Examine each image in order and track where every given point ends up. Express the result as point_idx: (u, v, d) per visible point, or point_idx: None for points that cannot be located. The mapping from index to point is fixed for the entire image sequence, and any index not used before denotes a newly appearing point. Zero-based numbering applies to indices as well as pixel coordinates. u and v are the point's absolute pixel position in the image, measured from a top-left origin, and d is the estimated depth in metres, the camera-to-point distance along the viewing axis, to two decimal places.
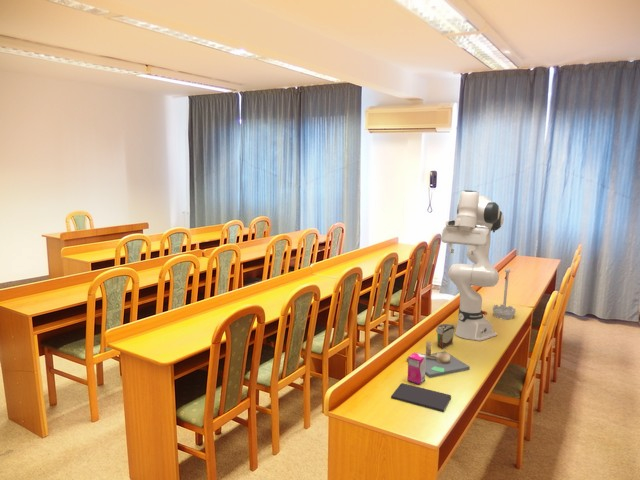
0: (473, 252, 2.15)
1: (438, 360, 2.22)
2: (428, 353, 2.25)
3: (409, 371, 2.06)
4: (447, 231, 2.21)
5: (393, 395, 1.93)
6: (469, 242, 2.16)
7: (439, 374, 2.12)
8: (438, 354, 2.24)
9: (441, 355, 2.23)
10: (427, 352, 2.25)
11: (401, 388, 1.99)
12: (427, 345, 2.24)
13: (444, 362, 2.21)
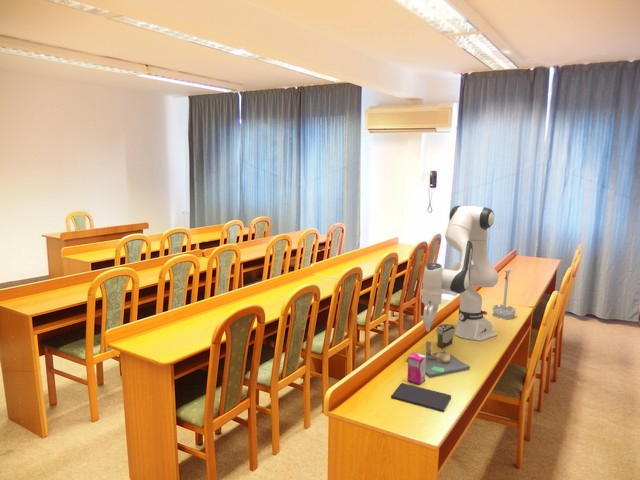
0: (426, 328, 2.19)
1: (438, 360, 2.22)
2: (428, 353, 2.25)
3: (409, 371, 2.06)
4: None
5: (393, 395, 1.93)
6: None
7: (439, 374, 2.12)
8: (438, 354, 2.24)
9: (441, 355, 2.23)
10: (427, 352, 2.25)
11: (401, 388, 1.99)
12: (427, 345, 2.24)
13: (444, 362, 2.21)
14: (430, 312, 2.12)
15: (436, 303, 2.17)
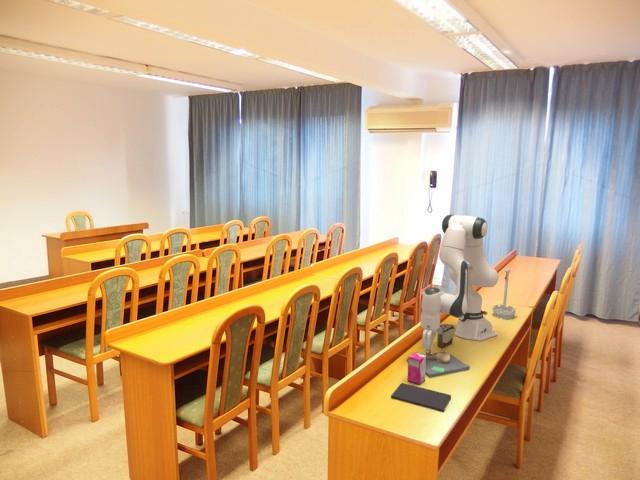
0: None
1: (438, 360, 2.22)
2: (428, 353, 2.25)
3: (409, 371, 2.06)
4: None
5: (393, 395, 1.93)
6: None
7: (439, 374, 2.12)
8: (438, 354, 2.24)
9: (441, 355, 2.23)
10: None
11: (401, 388, 1.99)
12: None
13: (444, 362, 2.21)
14: (429, 337, 2.15)
15: (435, 327, 2.19)
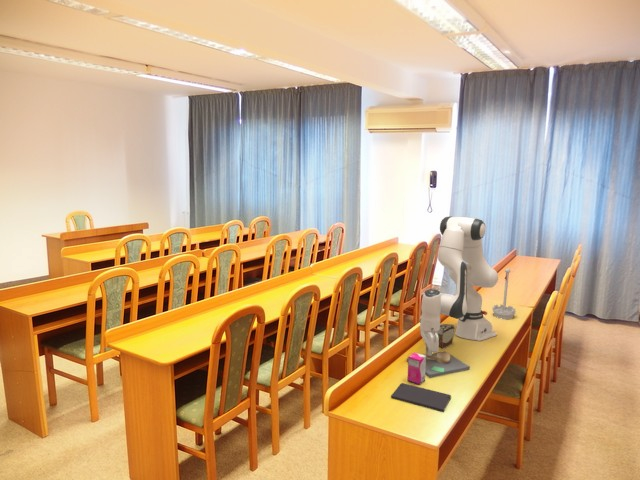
0: (428, 352, 2.20)
1: (440, 361, 2.21)
2: None
3: (409, 371, 2.06)
4: None
5: (393, 395, 1.93)
6: (426, 344, 2.19)
7: (439, 374, 2.12)
8: (438, 355, 2.23)
9: (442, 355, 2.22)
10: None
11: (401, 388, 1.99)
12: None
13: (446, 362, 2.21)
14: (437, 340, 2.12)
15: (438, 329, 2.17)
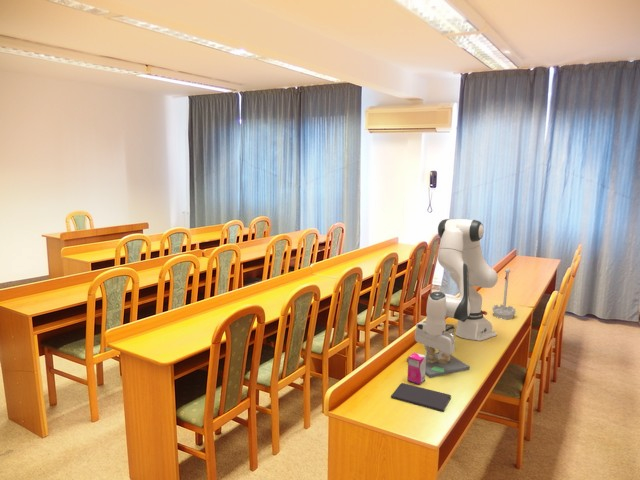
0: (438, 356, 2.16)
1: (443, 361, 2.21)
2: (433, 358, 2.19)
3: (409, 371, 2.06)
4: (418, 333, 2.22)
5: (393, 395, 1.93)
6: (436, 348, 2.15)
7: (439, 374, 2.12)
8: None
9: (443, 356, 2.22)
10: (432, 357, 2.19)
11: (401, 388, 1.99)
12: (432, 350, 2.18)
13: (448, 361, 2.22)
14: None
15: None
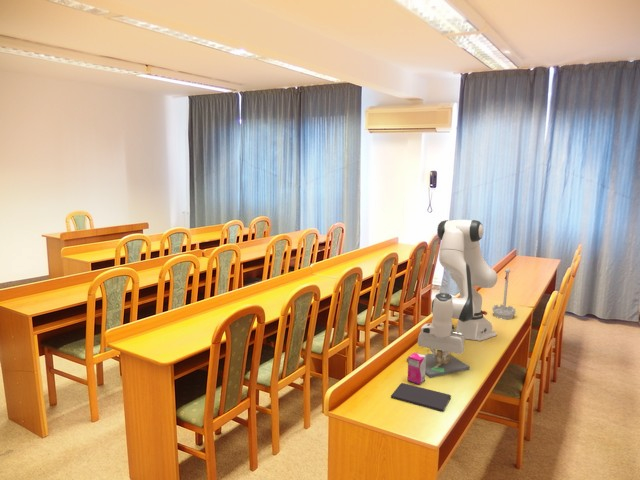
0: (444, 357, 2.15)
1: (447, 361, 2.21)
2: (441, 360, 2.17)
3: (409, 371, 2.06)
4: (423, 337, 2.17)
5: (393, 395, 1.93)
6: (445, 350, 2.13)
7: (439, 374, 2.12)
8: None
9: None
10: (441, 360, 2.16)
11: (401, 388, 1.99)
12: (441, 353, 2.16)
13: (449, 360, 2.23)
14: None
15: None
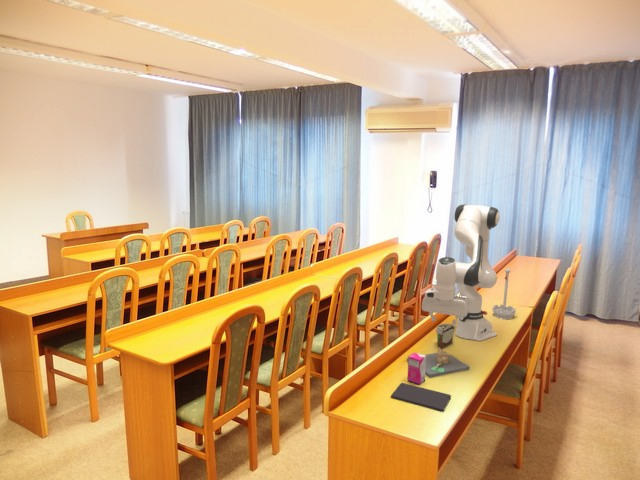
0: (454, 322, 2.15)
1: (447, 361, 2.21)
2: (441, 360, 2.17)
3: (409, 371, 2.06)
4: (427, 301, 2.18)
5: (393, 395, 1.93)
6: (449, 313, 2.15)
7: (439, 374, 2.12)
8: (442, 356, 2.21)
9: (444, 356, 2.22)
10: (441, 360, 2.16)
11: (401, 388, 1.99)
12: (441, 353, 2.16)
13: (449, 360, 2.23)
14: None
15: None
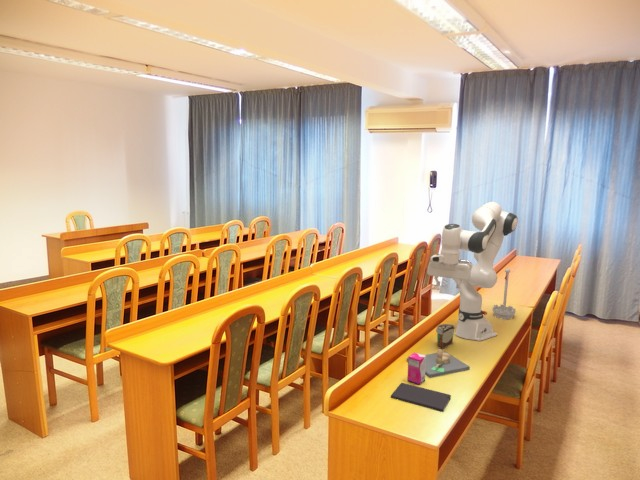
0: (458, 286, 2.27)
1: (447, 361, 2.21)
2: (441, 360, 2.17)
3: (409, 371, 2.06)
4: (432, 266, 2.30)
5: (393, 394, 1.93)
6: (454, 277, 2.26)
7: (439, 374, 2.12)
8: (442, 356, 2.21)
9: (444, 356, 2.22)
10: (441, 360, 2.16)
11: (401, 388, 1.99)
12: (441, 353, 2.16)
13: (449, 360, 2.23)
14: None
15: None
